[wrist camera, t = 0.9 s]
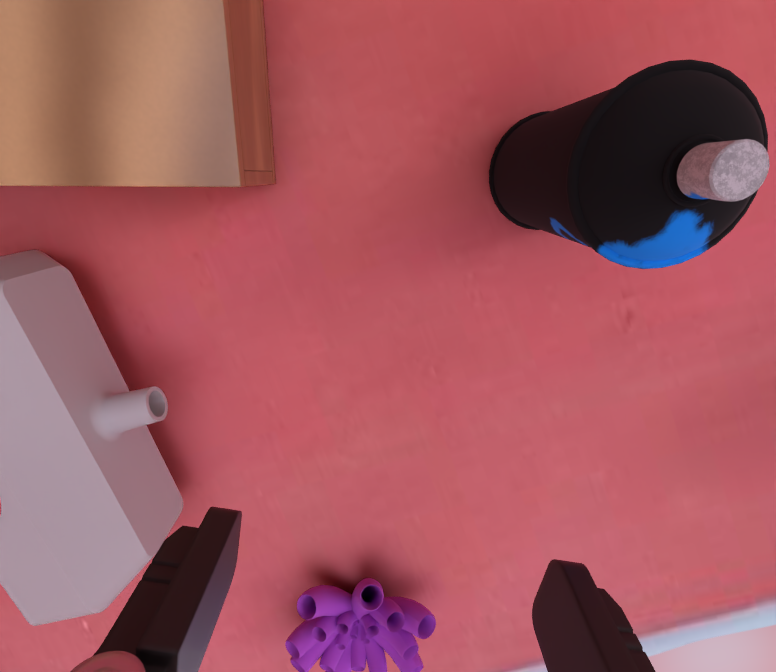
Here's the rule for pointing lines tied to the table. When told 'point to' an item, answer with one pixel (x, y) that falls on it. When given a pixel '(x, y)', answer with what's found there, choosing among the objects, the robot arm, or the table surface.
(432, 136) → the table surface
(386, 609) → the pipe connector assembly
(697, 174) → the aerosol can
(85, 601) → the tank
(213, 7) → the cabinet
